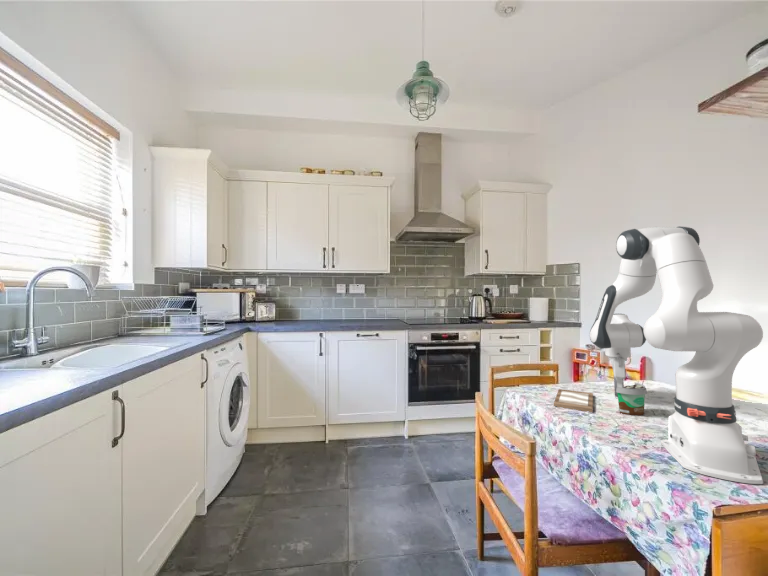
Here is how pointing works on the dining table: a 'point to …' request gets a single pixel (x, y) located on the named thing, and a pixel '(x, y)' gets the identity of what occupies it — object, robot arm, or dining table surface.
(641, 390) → the food container
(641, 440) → the dining table surface
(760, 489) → the dining table surface
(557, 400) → the writing board
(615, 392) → the marker
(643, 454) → the dining table surface
